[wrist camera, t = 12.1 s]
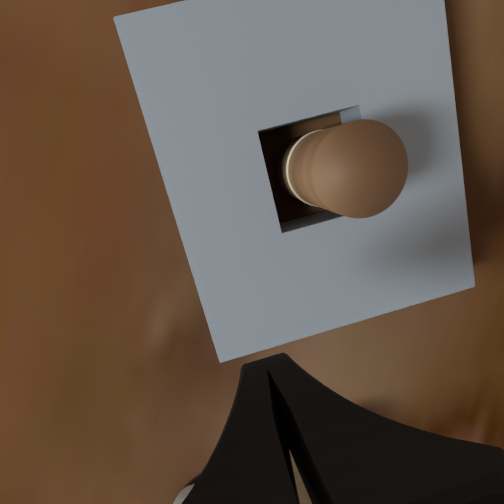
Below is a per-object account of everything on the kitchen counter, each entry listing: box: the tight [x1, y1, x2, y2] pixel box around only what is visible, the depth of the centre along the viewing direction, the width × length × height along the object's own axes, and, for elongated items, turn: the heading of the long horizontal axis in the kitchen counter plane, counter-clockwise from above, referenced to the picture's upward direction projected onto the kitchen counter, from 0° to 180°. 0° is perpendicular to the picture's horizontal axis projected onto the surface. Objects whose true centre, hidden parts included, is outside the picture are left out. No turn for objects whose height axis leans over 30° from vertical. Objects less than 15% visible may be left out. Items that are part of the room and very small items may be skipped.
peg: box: [276, 119, 408, 218], centre depth 17 cm, size 4×4×7 cm
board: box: [113, 0, 475, 363], centre depth 19 cm, size 14×16×2 cm
